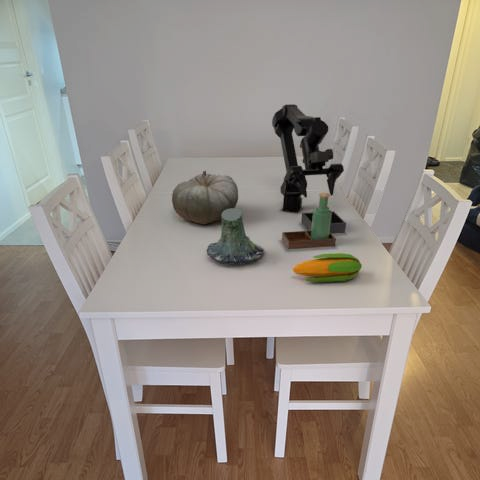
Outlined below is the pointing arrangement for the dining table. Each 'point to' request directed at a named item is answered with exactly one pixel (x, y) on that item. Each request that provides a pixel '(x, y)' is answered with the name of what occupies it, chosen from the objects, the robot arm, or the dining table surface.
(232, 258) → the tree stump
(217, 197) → the gourd
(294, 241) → the wooden box
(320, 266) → the corn
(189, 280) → the dining table surface
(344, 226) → the tray
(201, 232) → the dining table surface
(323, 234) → the green corked bottle
